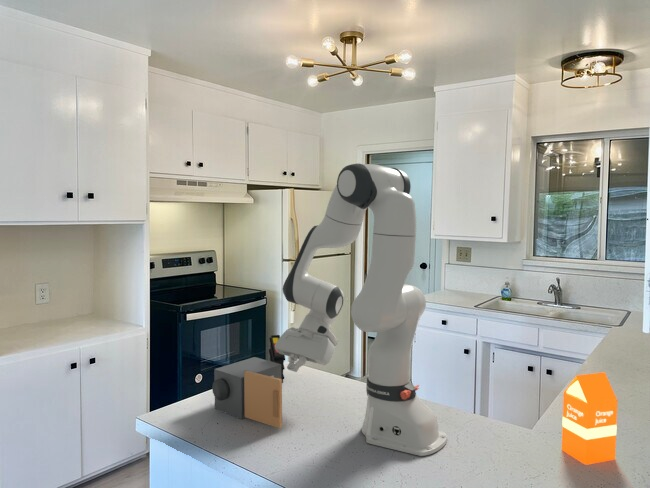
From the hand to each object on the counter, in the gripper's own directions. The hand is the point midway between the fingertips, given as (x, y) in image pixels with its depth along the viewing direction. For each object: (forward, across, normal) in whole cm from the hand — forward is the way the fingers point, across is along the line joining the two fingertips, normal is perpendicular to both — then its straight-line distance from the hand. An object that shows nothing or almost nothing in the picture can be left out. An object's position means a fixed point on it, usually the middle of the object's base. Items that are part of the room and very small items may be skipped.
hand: (291, 370), depth 148 cm
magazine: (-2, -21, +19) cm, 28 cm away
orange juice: (-9, +75, +26) cm, 80 cm away
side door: (+17, +2, -3) cm, 18 cm away
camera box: (+13, -11, +3) cm, 17 cm away
